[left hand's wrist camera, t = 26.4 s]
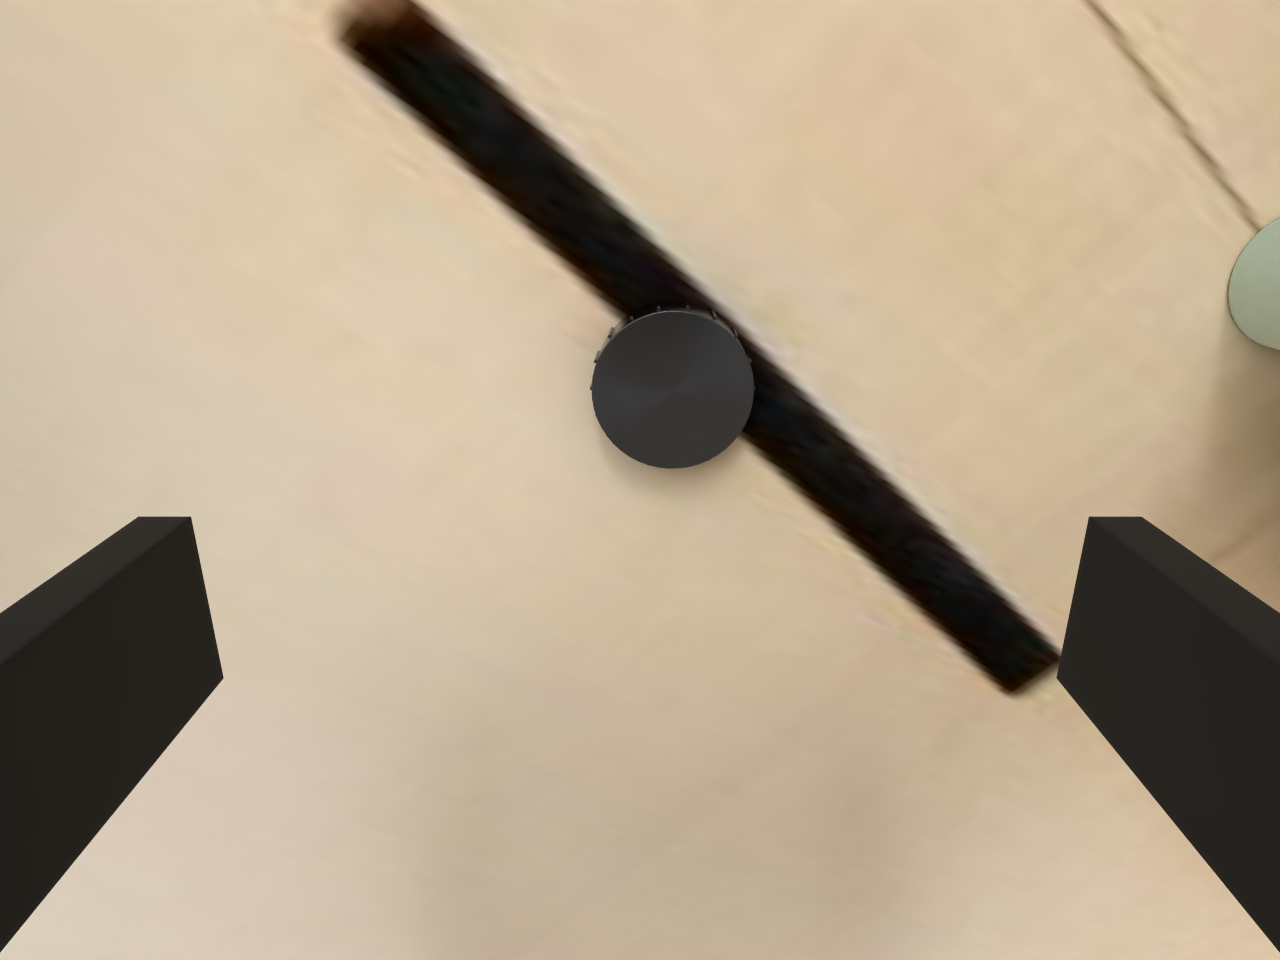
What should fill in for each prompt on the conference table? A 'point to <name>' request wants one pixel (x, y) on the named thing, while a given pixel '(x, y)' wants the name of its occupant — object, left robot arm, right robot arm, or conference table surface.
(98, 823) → the left robot arm
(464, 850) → the conference table surface
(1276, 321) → the pale green bottle
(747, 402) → the lid
